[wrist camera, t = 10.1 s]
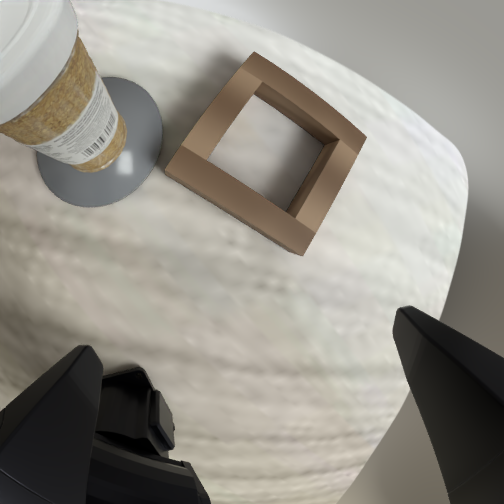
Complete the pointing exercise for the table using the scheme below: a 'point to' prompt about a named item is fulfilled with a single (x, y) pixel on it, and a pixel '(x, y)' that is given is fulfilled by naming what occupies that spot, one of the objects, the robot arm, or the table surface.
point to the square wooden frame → (241, 196)
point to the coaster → (126, 165)
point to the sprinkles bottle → (54, 87)
